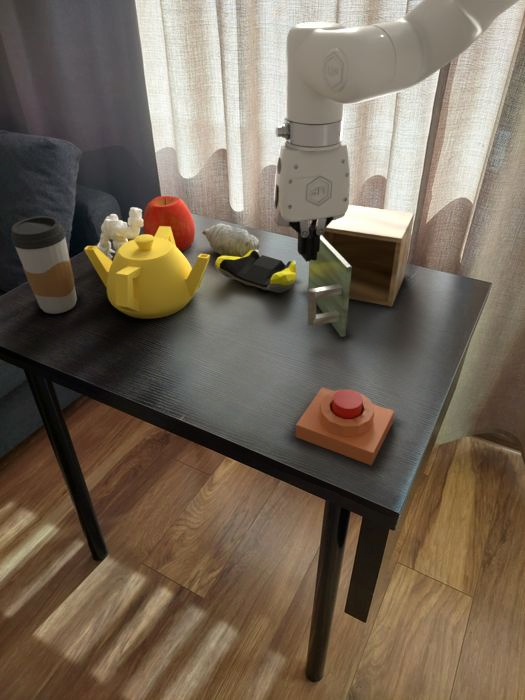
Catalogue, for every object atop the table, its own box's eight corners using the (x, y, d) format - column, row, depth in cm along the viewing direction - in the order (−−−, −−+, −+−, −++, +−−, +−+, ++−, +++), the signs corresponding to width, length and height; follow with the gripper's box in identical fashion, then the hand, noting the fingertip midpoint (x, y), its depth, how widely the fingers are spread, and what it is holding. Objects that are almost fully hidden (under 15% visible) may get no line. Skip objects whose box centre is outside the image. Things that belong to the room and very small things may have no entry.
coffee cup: (63, 288, 97) (41, 211, 89) (93, 301, 93) (73, 221, 85) (24, 308, 92) (-3, 228, 83) (53, 322, 88) (28, 240, 79)
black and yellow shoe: (280, 308, 90) (309, 283, 97) (280, 280, 87) (310, 256, 94) (212, 285, 97) (243, 263, 104) (209, 258, 94) (242, 238, 101)
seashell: (215, 226, 112) (217, 198, 105) (261, 264, 108) (267, 238, 101) (193, 241, 109) (194, 214, 102) (240, 281, 105) (245, 255, 99)
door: (310, 343, 82) (313, 273, 74) (281, 297, 93) (281, 232, 86) (345, 336, 83) (352, 266, 76) (312, 291, 94) (314, 227, 87)
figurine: (154, 263, 105) (144, 205, 98) (144, 275, 101) (134, 216, 94) (106, 259, 107) (93, 202, 99) (95, 271, 103) (81, 212, 95)
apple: (135, 246, 111) (127, 197, 105) (176, 230, 117) (170, 183, 111) (166, 262, 105) (158, 211, 99) (207, 244, 111) (203, 195, 105)
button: (365, 405, 65) (367, 394, 64) (355, 423, 63) (356, 412, 62) (338, 396, 67) (339, 385, 65) (327, 413, 64) (328, 402, 63)
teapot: (126, 336, 84) (111, 270, 77) (92, 293, 96) (77, 232, 89) (217, 305, 92) (212, 242, 84) (176, 268, 103) (168, 210, 96)
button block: (392, 423, 68) (396, 400, 65) (371, 465, 62) (375, 442, 60) (321, 399, 72) (322, 376, 69) (295, 437, 66) (296, 414, 64)
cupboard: (391, 306, 90) (401, 238, 82) (311, 291, 95) (313, 225, 87) (404, 277, 98) (414, 213, 91) (329, 264, 103) (332, 202, 95)
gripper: (268, 145, 65) (269, 276, 76) (377, 134, 68) (363, 260, 79) (251, 130, 71) (254, 253, 82) (353, 120, 74) (342, 240, 85)
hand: (308, 256), depth 81 cm, fingers closed
